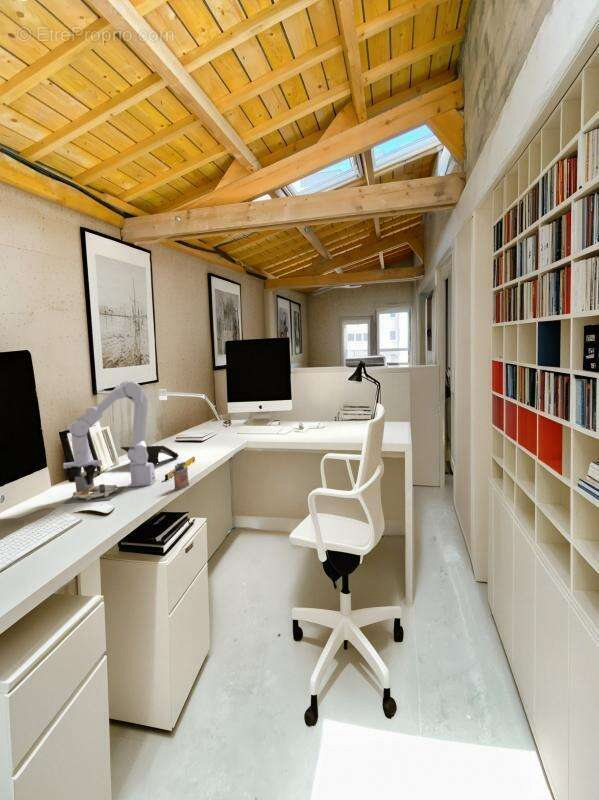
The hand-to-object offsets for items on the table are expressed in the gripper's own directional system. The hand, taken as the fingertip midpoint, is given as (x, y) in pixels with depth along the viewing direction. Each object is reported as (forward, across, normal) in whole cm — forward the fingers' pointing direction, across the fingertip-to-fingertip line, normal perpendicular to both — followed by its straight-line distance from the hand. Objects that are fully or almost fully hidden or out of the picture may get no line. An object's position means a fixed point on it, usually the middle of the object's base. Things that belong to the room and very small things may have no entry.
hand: (85, 484), depth 183 cm
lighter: (+5, +38, +2) cm, 38 cm away
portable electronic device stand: (+5, +11, +54) cm, 56 cm away
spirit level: (+5, +31, +31) cm, 44 cm away
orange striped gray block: (+2, 0, 0) cm, 2 cm away
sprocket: (+5, +4, 0) cm, 6 cm away
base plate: (+5, +4, 0) cm, 6 cm away
